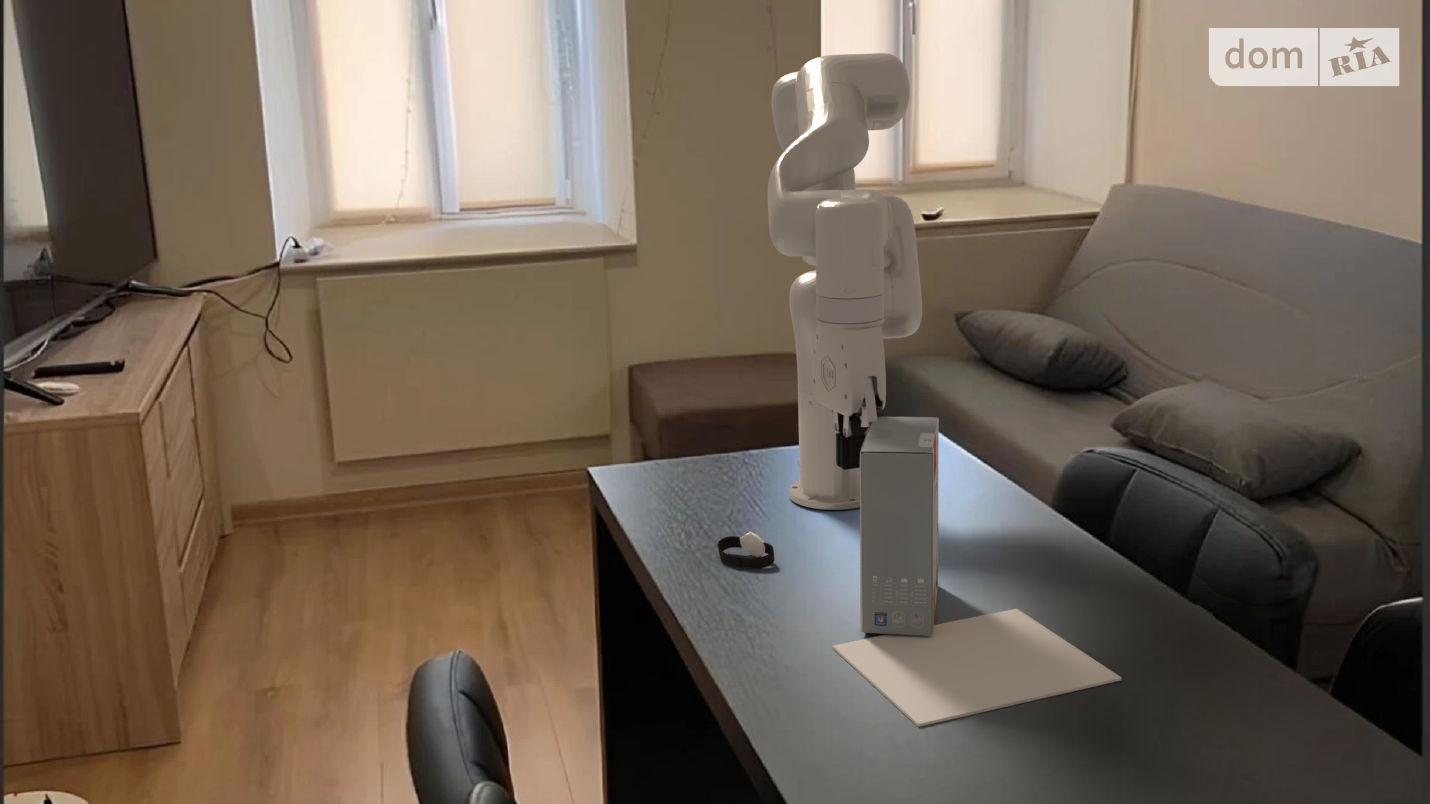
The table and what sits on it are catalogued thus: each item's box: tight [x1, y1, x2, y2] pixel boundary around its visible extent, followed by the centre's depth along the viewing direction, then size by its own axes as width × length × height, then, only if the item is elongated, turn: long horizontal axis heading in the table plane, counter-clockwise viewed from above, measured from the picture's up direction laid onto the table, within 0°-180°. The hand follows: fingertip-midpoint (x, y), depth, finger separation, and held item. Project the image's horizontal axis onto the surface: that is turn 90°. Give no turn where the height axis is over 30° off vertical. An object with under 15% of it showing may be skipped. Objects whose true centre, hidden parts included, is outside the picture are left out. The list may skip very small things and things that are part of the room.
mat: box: [832, 608, 1122, 728], centre depth 130 cm, size 18×22×1 cm
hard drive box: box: [859, 416, 940, 636], centre depth 141 cm, size 16×8×20 cm, turn 168°
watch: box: [716, 531, 775, 570], centre depth 159 cm, size 8×5×4 cm, turn 54°
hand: (851, 466), depth 151 cm, fingers closed
